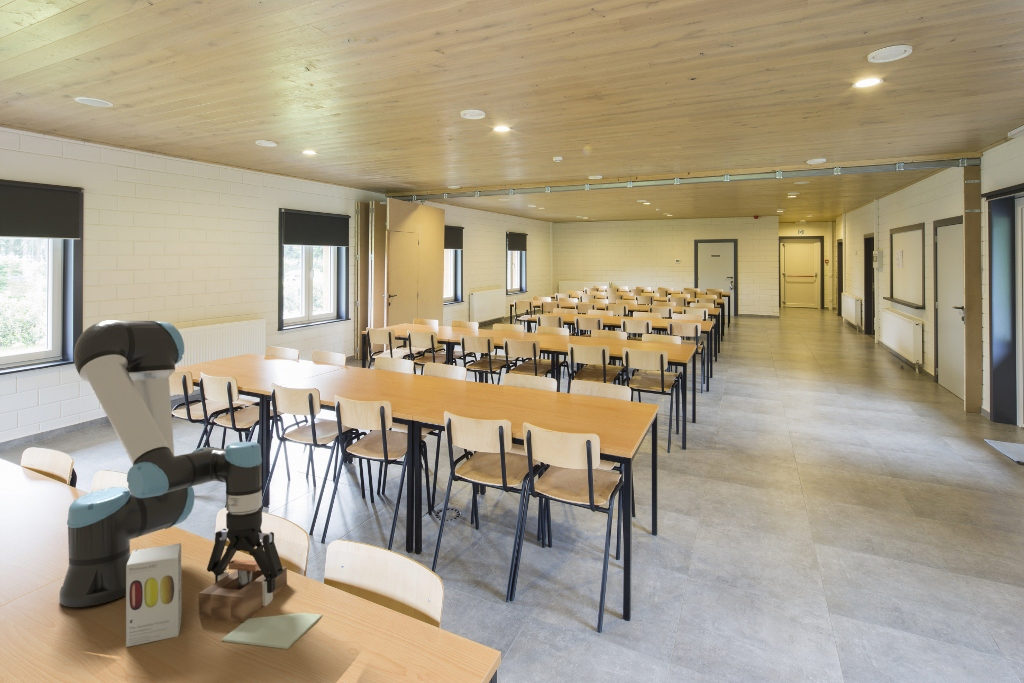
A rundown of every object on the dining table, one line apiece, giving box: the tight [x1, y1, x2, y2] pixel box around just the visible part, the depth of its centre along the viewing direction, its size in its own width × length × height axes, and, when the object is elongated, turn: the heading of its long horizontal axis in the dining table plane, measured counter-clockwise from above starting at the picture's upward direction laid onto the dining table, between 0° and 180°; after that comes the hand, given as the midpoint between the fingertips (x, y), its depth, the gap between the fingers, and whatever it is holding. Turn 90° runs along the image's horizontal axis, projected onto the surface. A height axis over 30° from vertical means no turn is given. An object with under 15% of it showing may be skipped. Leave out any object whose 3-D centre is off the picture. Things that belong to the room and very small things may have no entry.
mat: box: [221, 612, 323, 650], centre depth 119 cm, size 15×13×1 cm
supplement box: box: [125, 542, 183, 648], centre depth 118 cm, size 10×9×17 cm
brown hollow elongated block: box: [198, 566, 288, 625], centre depth 129 cm, size 11×16×6 cm
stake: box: [228, 558, 260, 590], centre depth 129 cm, size 7×4×10 cm, turn 78°
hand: (245, 603), depth 129 cm, fingers closed on brown hollow elongated block, 11 cm apart
